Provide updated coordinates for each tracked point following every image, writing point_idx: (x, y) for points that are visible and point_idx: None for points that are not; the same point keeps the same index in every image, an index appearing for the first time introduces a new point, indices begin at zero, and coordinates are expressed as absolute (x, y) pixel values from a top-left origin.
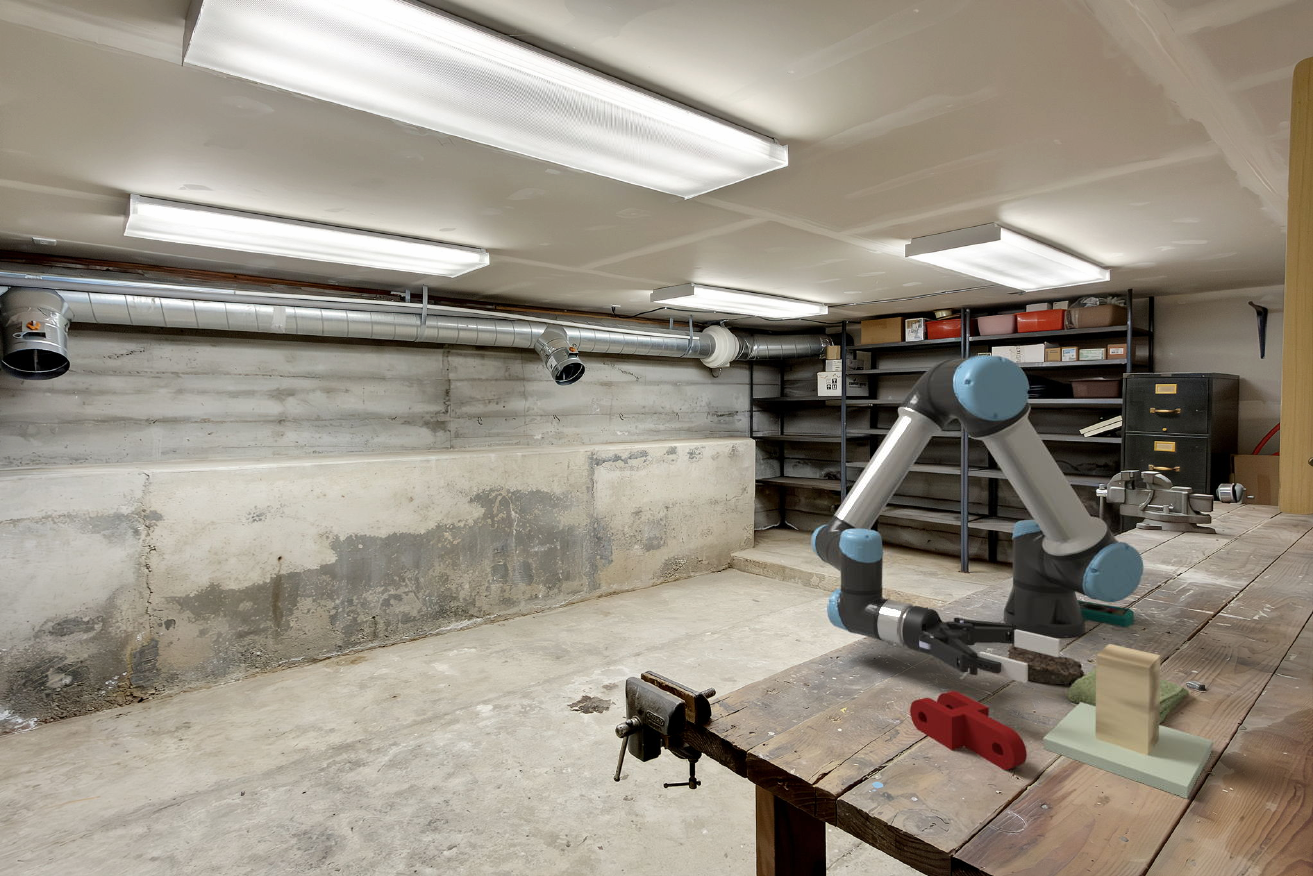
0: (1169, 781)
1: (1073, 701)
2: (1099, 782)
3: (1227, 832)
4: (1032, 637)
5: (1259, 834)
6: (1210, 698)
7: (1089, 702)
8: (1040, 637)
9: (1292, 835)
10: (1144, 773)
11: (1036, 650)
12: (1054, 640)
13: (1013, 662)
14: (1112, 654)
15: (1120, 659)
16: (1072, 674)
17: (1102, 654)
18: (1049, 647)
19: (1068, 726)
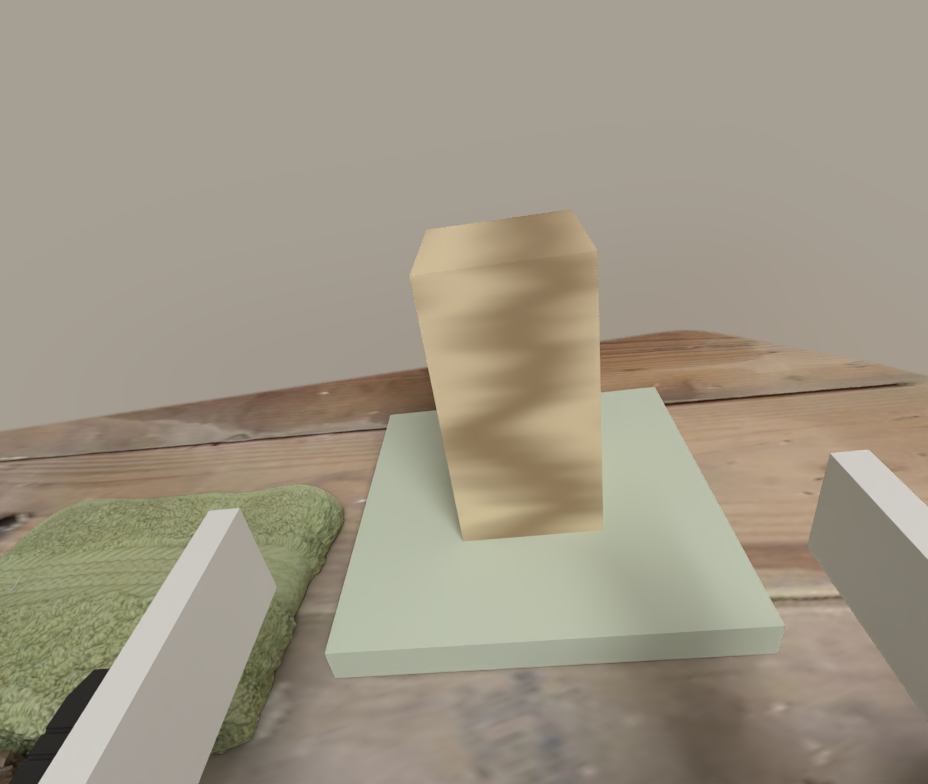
0: (662, 403)
1: (256, 723)
2: (781, 495)
3: (702, 367)
4: (166, 677)
5: (659, 354)
6: (74, 498)
7: (277, 651)
8: (190, 607)
9: (617, 343)
10: (677, 429)
11: (220, 707)
12: (230, 529)
13: (923, 509)
14: (537, 245)
15: (568, 231)
16: (13, 770)
17: (569, 249)
18: (239, 596)
19: (592, 605)
